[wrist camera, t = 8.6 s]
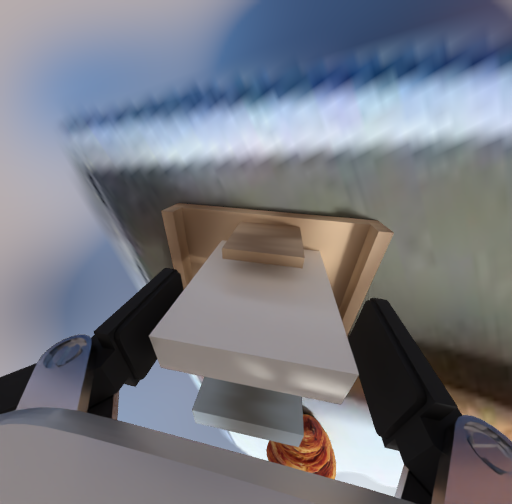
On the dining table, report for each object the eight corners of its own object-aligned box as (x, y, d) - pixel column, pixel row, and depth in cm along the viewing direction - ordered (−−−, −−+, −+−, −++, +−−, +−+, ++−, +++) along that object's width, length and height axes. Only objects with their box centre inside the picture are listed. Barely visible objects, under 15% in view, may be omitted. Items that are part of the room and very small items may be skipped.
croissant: (310, 433, 37) (337, 494, 30) (265, 458, 35) (284, 529, 28) (321, 380, 27) (365, 454, 20) (257, 410, 24) (284, 505, 18)
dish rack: (377, 220, 12) (504, 315, 5) (325, 355, 19) (345, 470, 12) (178, 203, 13) (61, 256, 6) (200, 333, 21) (155, 424, 14)
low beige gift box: (319, 251, 12) (359, 374, 5) (313, 274, 13) (340, 404, 6) (222, 240, 13) (148, 335, 6) (223, 263, 14) (160, 367, 7)
